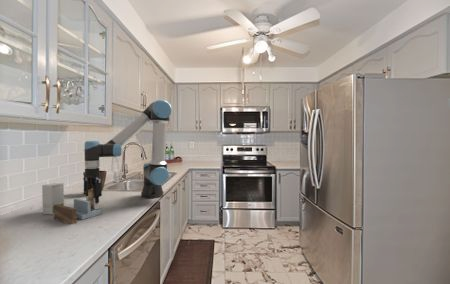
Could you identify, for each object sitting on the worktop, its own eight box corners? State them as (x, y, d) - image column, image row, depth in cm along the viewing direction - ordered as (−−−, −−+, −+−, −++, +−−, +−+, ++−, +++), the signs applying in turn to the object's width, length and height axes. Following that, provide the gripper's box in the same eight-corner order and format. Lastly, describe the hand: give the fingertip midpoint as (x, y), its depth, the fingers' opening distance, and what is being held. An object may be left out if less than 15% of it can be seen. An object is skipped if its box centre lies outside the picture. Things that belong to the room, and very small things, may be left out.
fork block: (87, 210, 143) (87, 196, 143) (101, 213, 137) (101, 199, 137) (68, 215, 134) (67, 200, 133) (82, 219, 128) (81, 203, 128)
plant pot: (90, 191, 190) (90, 170, 189) (110, 192, 190) (110, 170, 189) (79, 196, 175) (78, 173, 174) (100, 196, 175) (100, 173, 174)
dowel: (93, 206, 151) (93, 188, 150) (98, 208, 149) (98, 189, 148) (86, 208, 147) (86, 189, 147) (91, 209, 145) (91, 190, 144)
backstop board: (57, 217, 131) (57, 204, 131) (76, 223, 123) (76, 208, 123) (53, 218, 129) (53, 205, 129) (72, 224, 122) (72, 209, 121)
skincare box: (51, 214, 136) (51, 185, 135) (41, 214, 137) (40, 185, 137) (64, 210, 144) (64, 182, 143) (54, 209, 145) (54, 182, 145)
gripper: (76, 167, 148) (76, 207, 149) (96, 169, 139) (96, 212, 140) (88, 166, 155) (88, 204, 156) (108, 168, 146) (109, 208, 147)
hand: (92, 207), depth 148 cm, fingers open, 6 cm apart
